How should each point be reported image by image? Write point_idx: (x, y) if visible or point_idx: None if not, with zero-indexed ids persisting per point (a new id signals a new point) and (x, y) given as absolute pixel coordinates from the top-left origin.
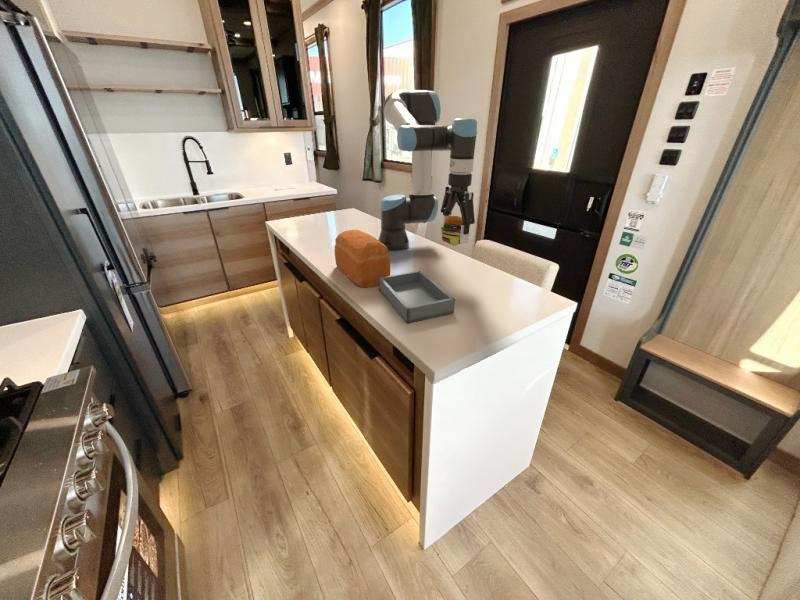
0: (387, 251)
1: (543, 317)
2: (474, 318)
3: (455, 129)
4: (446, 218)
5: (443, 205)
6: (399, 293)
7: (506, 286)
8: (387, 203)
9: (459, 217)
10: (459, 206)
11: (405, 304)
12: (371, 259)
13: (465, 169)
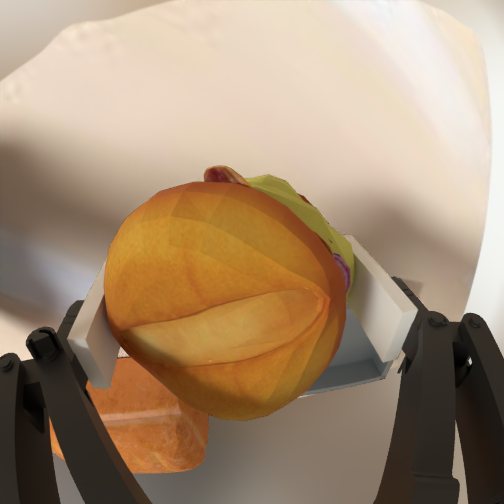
0: (182, 426)
1: (489, 122)
2: (433, 249)
3: None
4: (107, 363)
5: (48, 458)
6: None
7: (363, 52)
8: None
9: (300, 377)
10: (379, 493)
11: (372, 379)
12: (202, 438)
13: None
